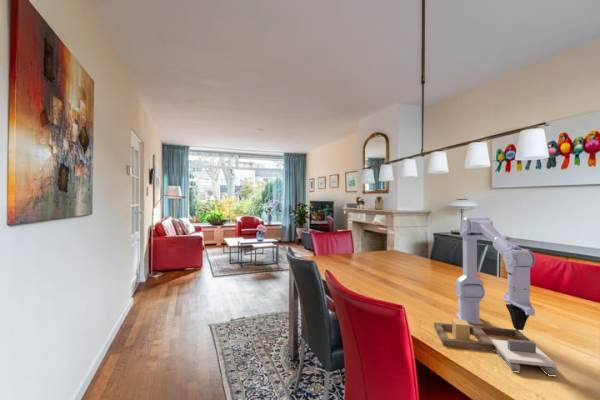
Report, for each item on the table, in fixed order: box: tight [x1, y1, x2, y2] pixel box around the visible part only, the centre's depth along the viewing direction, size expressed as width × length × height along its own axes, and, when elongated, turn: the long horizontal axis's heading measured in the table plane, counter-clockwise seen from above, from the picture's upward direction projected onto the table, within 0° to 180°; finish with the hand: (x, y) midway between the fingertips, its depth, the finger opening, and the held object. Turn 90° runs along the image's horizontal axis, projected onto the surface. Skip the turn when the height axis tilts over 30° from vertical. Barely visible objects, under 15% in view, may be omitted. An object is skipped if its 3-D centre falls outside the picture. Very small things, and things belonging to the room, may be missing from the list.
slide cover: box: [491, 338, 557, 368], centre depth 91 cm, size 12×12×4 cm
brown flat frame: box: [433, 322, 557, 376], centre depth 98 cm, size 26×29×2 cm
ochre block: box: [451, 318, 471, 341], centre depth 105 cm, size 4×4×6 cm
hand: (518, 328), depth 92 cm, fingers closed
